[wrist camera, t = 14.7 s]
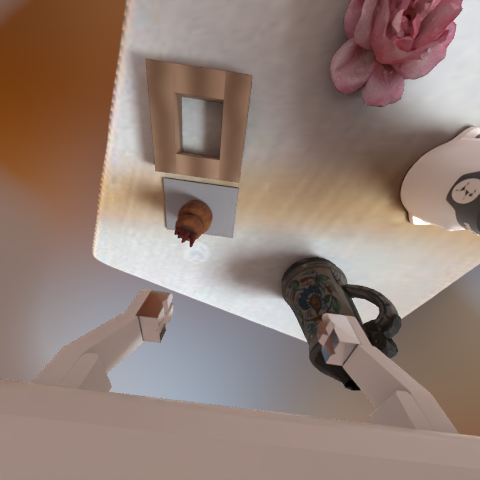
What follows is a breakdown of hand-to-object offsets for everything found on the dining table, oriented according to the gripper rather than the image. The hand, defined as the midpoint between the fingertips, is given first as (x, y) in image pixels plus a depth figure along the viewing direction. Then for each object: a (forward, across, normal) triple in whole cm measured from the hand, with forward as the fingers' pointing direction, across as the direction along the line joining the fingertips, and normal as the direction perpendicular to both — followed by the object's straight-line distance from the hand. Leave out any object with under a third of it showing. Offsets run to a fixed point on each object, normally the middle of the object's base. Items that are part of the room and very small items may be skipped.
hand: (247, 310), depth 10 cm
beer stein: (+34, -21, +23) cm, 46 cm away
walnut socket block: (+34, +10, -8) cm, 36 cm away
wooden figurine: (+33, +10, +8) cm, 36 cm away
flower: (+34, -16, -22) cm, 44 cm away
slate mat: (+34, +10, +8) cm, 36 cm away
